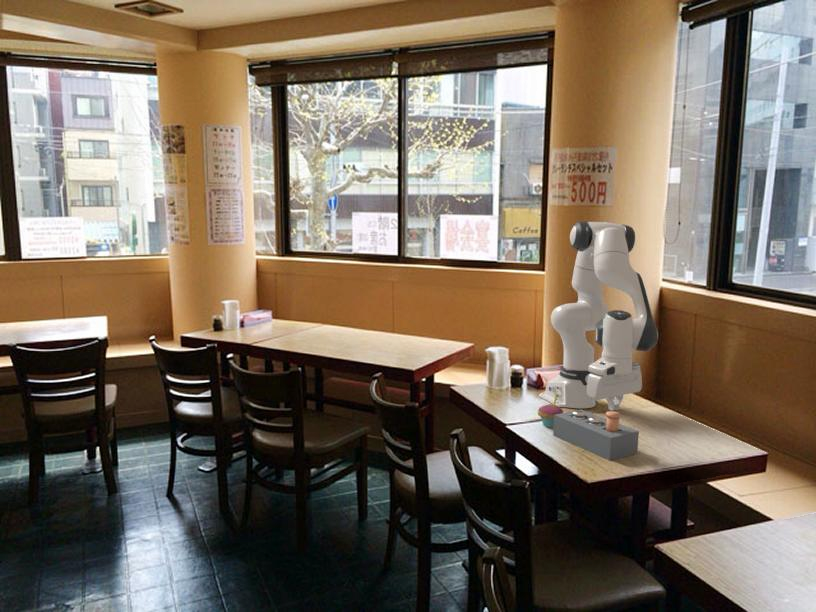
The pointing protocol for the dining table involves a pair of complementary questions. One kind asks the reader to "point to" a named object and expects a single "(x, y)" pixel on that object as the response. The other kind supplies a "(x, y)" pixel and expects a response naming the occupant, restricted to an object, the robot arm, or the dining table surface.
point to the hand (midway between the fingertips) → (613, 409)
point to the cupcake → (549, 413)
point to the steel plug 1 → (578, 414)
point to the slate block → (596, 436)
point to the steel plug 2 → (595, 420)
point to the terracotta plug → (612, 421)
